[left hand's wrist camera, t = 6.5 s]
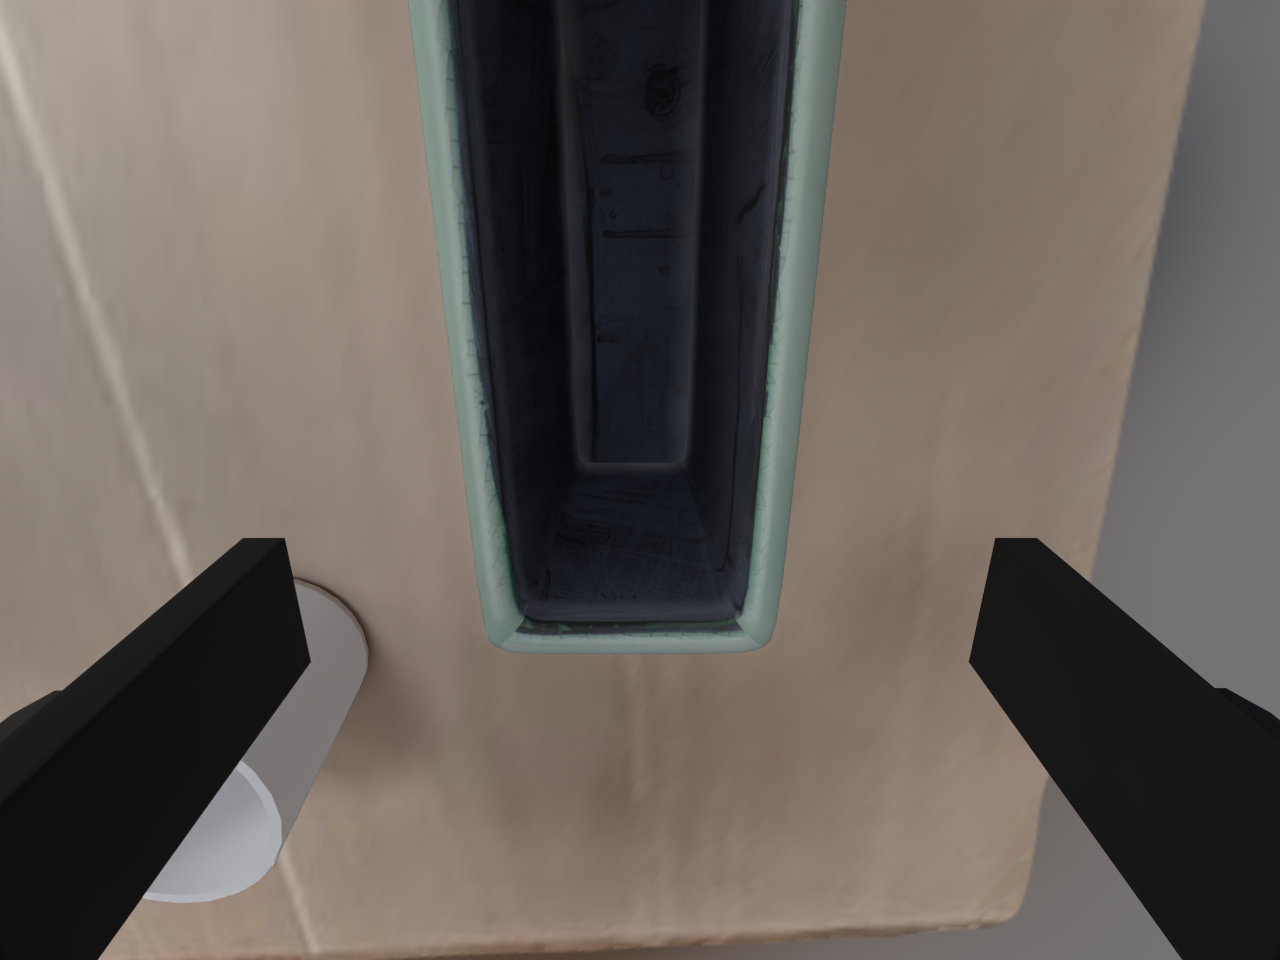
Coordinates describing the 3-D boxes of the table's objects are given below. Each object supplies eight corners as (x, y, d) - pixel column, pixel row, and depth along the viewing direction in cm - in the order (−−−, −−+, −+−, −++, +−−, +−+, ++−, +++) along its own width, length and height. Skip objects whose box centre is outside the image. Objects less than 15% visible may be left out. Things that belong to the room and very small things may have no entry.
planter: (738, 519, 23) (778, 660, 17) (524, 519, 23) (481, 660, 17) (841, -923, 12) (1105, -2312, 5) (412, -928, 12) (124, -2333, 5)
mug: (268, 529, 32) (111, 670, 22) (416, 648, 34) (333, 820, 25) (136, 664, 35) (-54, 841, 25) (282, 764, 37) (161, 960, 28)
